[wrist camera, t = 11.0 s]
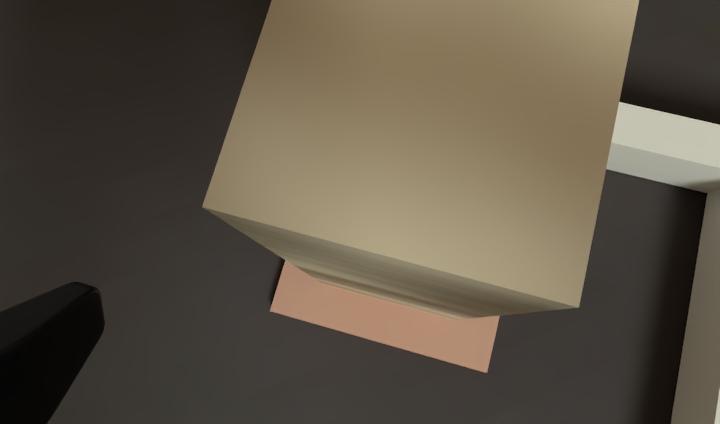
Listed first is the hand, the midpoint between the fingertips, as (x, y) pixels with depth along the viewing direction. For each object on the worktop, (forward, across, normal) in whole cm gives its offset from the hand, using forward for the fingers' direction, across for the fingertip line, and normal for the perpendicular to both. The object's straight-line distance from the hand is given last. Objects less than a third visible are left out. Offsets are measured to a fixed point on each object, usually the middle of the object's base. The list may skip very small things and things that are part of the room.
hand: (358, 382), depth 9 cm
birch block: (+11, 0, +5) cm, 12 cm away
